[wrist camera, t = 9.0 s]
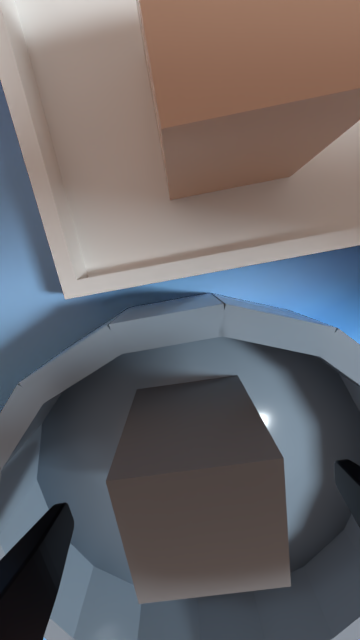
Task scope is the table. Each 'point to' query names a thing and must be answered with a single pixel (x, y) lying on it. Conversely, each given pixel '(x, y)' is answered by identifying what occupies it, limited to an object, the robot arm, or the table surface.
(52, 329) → the table surface
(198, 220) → the parts tray
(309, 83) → the matte tan cube
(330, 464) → the bowl
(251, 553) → the gray chunky prism
